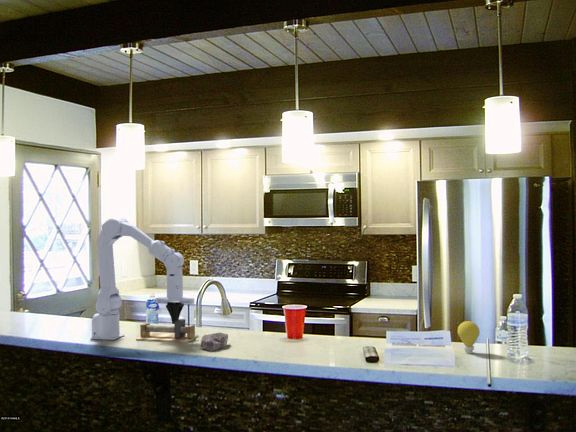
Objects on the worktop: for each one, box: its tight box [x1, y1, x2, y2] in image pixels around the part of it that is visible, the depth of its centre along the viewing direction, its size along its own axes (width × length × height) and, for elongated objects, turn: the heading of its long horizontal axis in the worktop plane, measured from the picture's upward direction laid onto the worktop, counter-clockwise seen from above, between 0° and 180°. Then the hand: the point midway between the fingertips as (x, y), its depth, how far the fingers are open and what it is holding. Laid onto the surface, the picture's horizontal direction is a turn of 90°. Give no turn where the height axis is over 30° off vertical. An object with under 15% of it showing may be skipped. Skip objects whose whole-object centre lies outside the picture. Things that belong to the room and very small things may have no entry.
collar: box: [173, 318, 187, 338], centre depth 209 cm, size 2×5×6 cm, turn 165°
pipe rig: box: [135, 322, 199, 344], centre depth 211 cm, size 20×10×5 cm, turn 75°
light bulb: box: [457, 320, 480, 355], centre depth 183 cm, size 7×7×10 cm
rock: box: [199, 332, 229, 352], centre depth 196 cm, size 8×11×5 cm
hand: (175, 323), depth 210 cm, fingers closed
